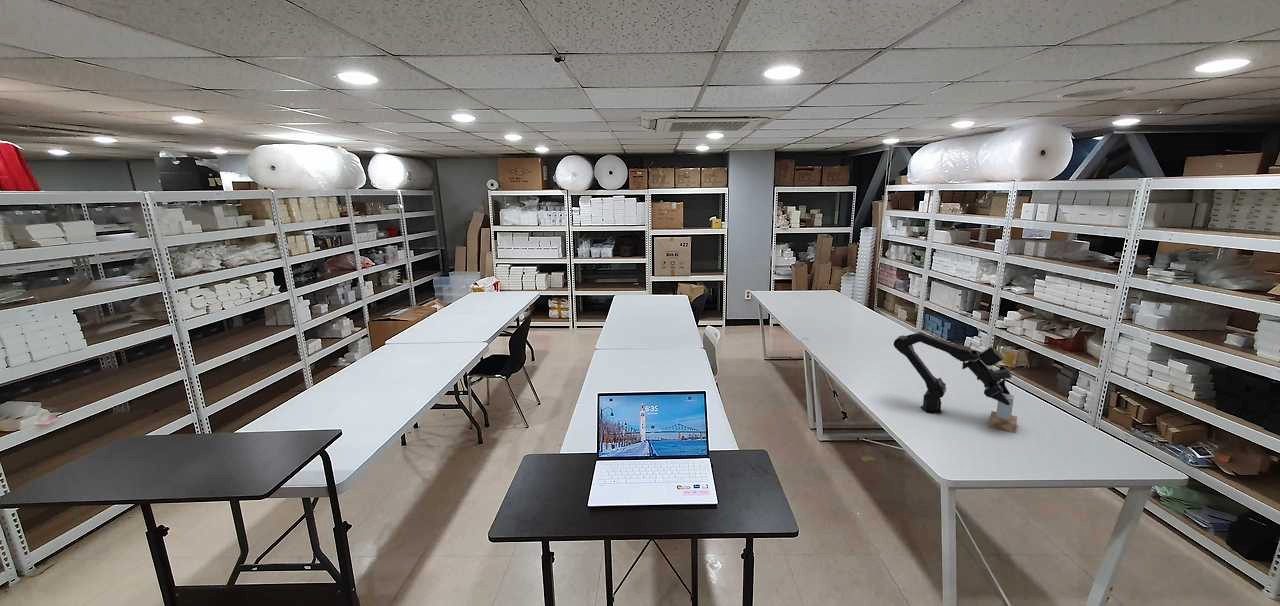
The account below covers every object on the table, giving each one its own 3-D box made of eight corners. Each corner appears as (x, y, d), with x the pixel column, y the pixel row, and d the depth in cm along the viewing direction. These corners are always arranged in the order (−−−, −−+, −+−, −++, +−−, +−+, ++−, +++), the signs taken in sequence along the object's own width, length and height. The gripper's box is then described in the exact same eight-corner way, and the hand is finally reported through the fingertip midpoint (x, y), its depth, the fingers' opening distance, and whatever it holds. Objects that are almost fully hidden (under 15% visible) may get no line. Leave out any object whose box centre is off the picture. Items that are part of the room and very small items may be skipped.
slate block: (995, 417, 204) (998, 396, 202) (996, 413, 207) (999, 392, 205) (1010, 421, 201) (1013, 399, 198) (1011, 416, 204) (1014, 395, 202)
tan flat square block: (988, 426, 204) (989, 418, 204) (990, 419, 211) (991, 411, 210) (1014, 432, 199) (1015, 424, 198) (1016, 424, 205) (1017, 416, 204)
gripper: (997, 368, 194) (1027, 399, 190) (1001, 355, 208) (1029, 384, 203) (971, 381, 201) (1000, 412, 196) (977, 368, 215) (1004, 397, 210)
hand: (1009, 401), depth 201 cm, fingers open, 9 cm apart
